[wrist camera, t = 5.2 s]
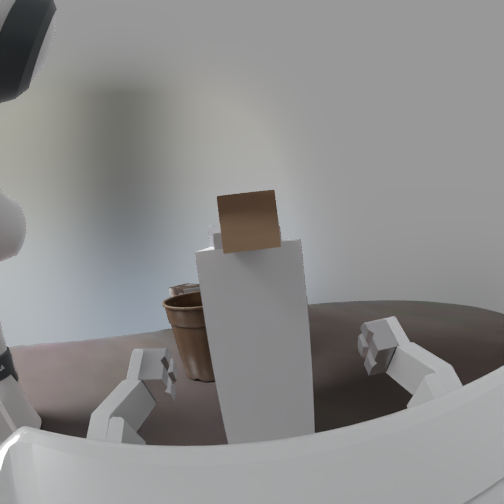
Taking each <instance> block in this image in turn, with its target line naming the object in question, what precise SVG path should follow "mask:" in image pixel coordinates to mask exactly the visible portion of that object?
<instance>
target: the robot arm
mask: <svg viewBox="0 0 504 504" xmlns="http://www.w3.org/2000/svg"><path fill="white" fill-rule="evenodd" d="M55 11H56V6H55V4H54V1H53V0H0V103H2V102H6V101H9V100H12V99H15V98H16V97H18V96H19V95H21V94H22V93H23V92H24V91H26V90H27V89H28V88H29V85H30V83H31V82H32V80H33V79H34V78H35V77H36V75H37V74H38V73H39V71H40V70H41V68H42V66H43V65H44V62H45V61H46V59H47V57H48V54H49V52H50V49H51V47H52V43H53V39H54V34H55ZM25 233H26V222H25V217H24V213H23V211H22V209H21V207H20V205H19V204H18V203H17V201H16V200H15V199H14V198H12V197H10V196H8V195H6V194H5V193H4V192H2V191H1V190H0V261H3V260H6V259H8V258H10V257H13V256H15V255H17V254H18V252H19V251H20V249H21V247H22V245H23V242H24V238H25ZM361 331H362V333H361V334H360V335H359V337H358V349H359V353H360V355H361V357H363V358H364V359H366V360H365V363H364V365H365V368H366V370H367V373H368V375H369V376H370V375H375V374H379V373H383V372H386V373H387V374H388V375H389V376H390V377H392V378H393V379H394V380H395V381H396V382H398V383H399V384H400V385H401V386H403V387H404V388H405V389H406V390H407V391H409V392H410V393H411V394H412V395H413V397H412V398H411V400H410V401H409V403H408V404H407V409H405V410H402V411H399V412H396V413H392V414H389V415H386V416H383V417H379V418H376V419H373V420H369V421H365V422H362V423H358V424H354V425H350V426H346V427H342V428H337V429H333V430H328V431H324V432H319V433H314V434H308V435H303V436H297V437H291V438H284V439H277V440H269V441H261V442H252V443H241V444H227V445H207V446H160V445H146V442H145V441H144V440H143V439H142V438H141V437H140V436H139V435H138V434H137V433H136V432H137V431H138V429H139V428H140V427H141V425H142V424H143V422H144V421H145V419H146V418H147V416H148V415H149V414H150V412H151V411H152V409H153V408H154V406H155V405H156V402H175V393H176V388H175V386H174V382H175V381H176V380H177V370H176V365H175V362H174V360H173V359H172V358H170V356H171V353H170V351H169V349H168V348H158V349H134V350H133V352H132V355H131V360H130V365H129V369H128V374H127V379H126V380H123V381H122V382H121V383H120V384H119V385H118V386H117V387H116V388H115V389H114V390H113V392H112V393H111V394H110V395H109V396H108V397H107V398H106V399H105V400H104V401H103V402H102V403H101V404H100V405H99V406H98V407H97V409H96V410H95V411H94V412H93V413H92V414H91V419H90V423H89V428H88V433H87V438H80V437H74V436H68V435H63V434H58V433H53V432H49V431H44V430H40V427H41V418H40V416H39V415H38V414H37V412H36V411H35V410H34V408H33V407H32V405H31V404H30V402H29V401H28V399H27V397H26V395H25V393H24V391H23V389H22V387H21V385H20V383H19V381H18V373H17V370H16V367H15V363H14V360H13V357H12V354H11V353H10V350H9V348H8V347H7V346H6V343H5V340H4V335H3V331H2V327H1V323H0V504H504V366H502V367H500V368H499V369H497V370H495V371H493V372H491V373H489V374H487V375H485V376H483V377H481V378H479V379H477V380H475V381H473V382H471V383H469V384H467V385H465V386H462V384H461V382H460V380H459V378H458V376H457V375H456V373H455V371H454V369H453V367H452V366H451V365H450V364H448V363H447V362H445V361H443V360H442V359H440V358H438V357H437V356H435V355H433V354H432V353H430V352H428V351H427V350H425V349H423V348H422V347H420V346H418V345H417V344H415V343H413V342H412V343H410V341H409V340H408V338H407V336H406V334H405V333H404V331H403V329H402V327H401V326H400V324H399V322H398V320H397V319H396V318H395V317H389V318H385V319H379V320H375V321H370V322H366V323H363V324H362V326H361Z"/></svg>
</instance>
